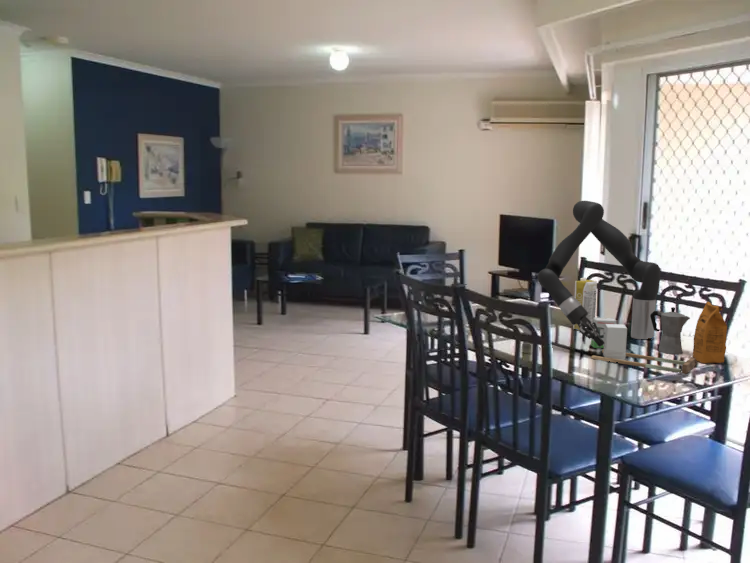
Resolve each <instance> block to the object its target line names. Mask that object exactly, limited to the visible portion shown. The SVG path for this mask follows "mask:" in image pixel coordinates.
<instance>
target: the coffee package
mask: <svg viewBox="0 0 750 563" xmlns="http://www.w3.org/2000/svg"><path fill="white" fill-rule="evenodd" d="M720 311H723V308H722V307H721V306H719V305H714V304H712V303H711V302H710V301H706V302H705V305H704V307H703V309H702V311H701V312H700V314H699V316H698V319H697V322H696V326H695V331H694V335H693V348H692V349H693V350H692V357H693V358H696V361H697V362H698V363H701V364H720V363H724V362H725V356H726V351H727V345H726V344H727V330H728V326H727V323H726V321H725V319H724V317H723V316H722V315H721V312H720ZM696 361H695V362H696Z"/></svg>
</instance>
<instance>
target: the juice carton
mask: <svg viewBox="0 0 750 563" xmlns="http://www.w3.org/2000/svg"><path fill="white" fill-rule="evenodd" d="M579 279H580V280H575V281H574V282H575V283H574V295H573V296H574V297H575V298H576V299H577V300H578V301H579V303H580V304H581V305H582V306H583V307H584V309H585V310H586V311H587V312H588V315H587V316H586V317H587V318H588V319H589V320H590V321H591V322H593V318H594V317H596V314H597V311H596V310H597V308H596V307H597V290H598V281H597V280H592V279H587V277H581V278H579ZM572 329H573V330H574V329H578V330H580V328H579V326H578V325H577V324H575V325H573V324H572ZM578 330H577V331H578Z"/></svg>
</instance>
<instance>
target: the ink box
mask: <svg viewBox="0 0 750 563" xmlns="http://www.w3.org/2000/svg"><path fill="white" fill-rule="evenodd" d="M593 322H595V323H596V326H597V328H598V330H599V335H598V336H599V337H600V338H601V339H602V340H603V341H604V335H605V324H617V320H616V319H615V318H613V317H597V316H595V317H594V318H593ZM593 322H592V323H593ZM590 340H591V341H590V346H591V347H592V348H595V349H604V344H603V345H602V346H600V347H599V346H598V345H597V344H596V342H595V341H594V340H592V339H590Z"/></svg>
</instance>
